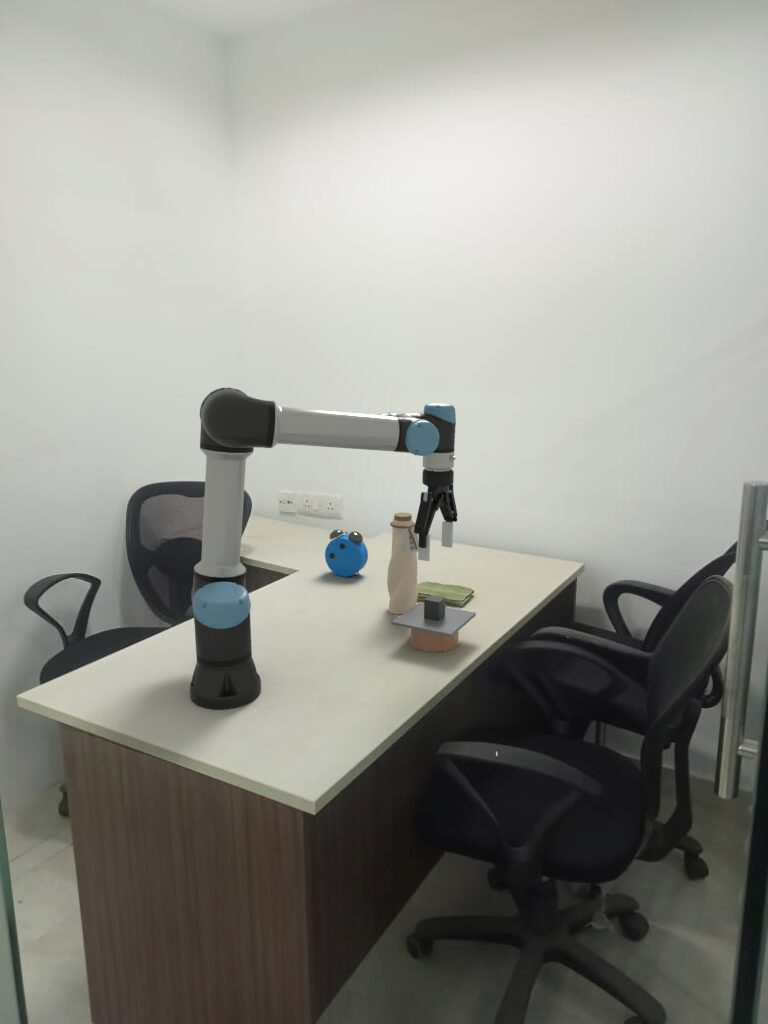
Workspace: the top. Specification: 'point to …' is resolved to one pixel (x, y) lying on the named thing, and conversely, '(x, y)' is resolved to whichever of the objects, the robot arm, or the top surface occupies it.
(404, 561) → the water bottle
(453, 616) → the cover sheet
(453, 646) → the bowl
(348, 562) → the alarm clock
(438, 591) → the washcloth
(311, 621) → the top surface
